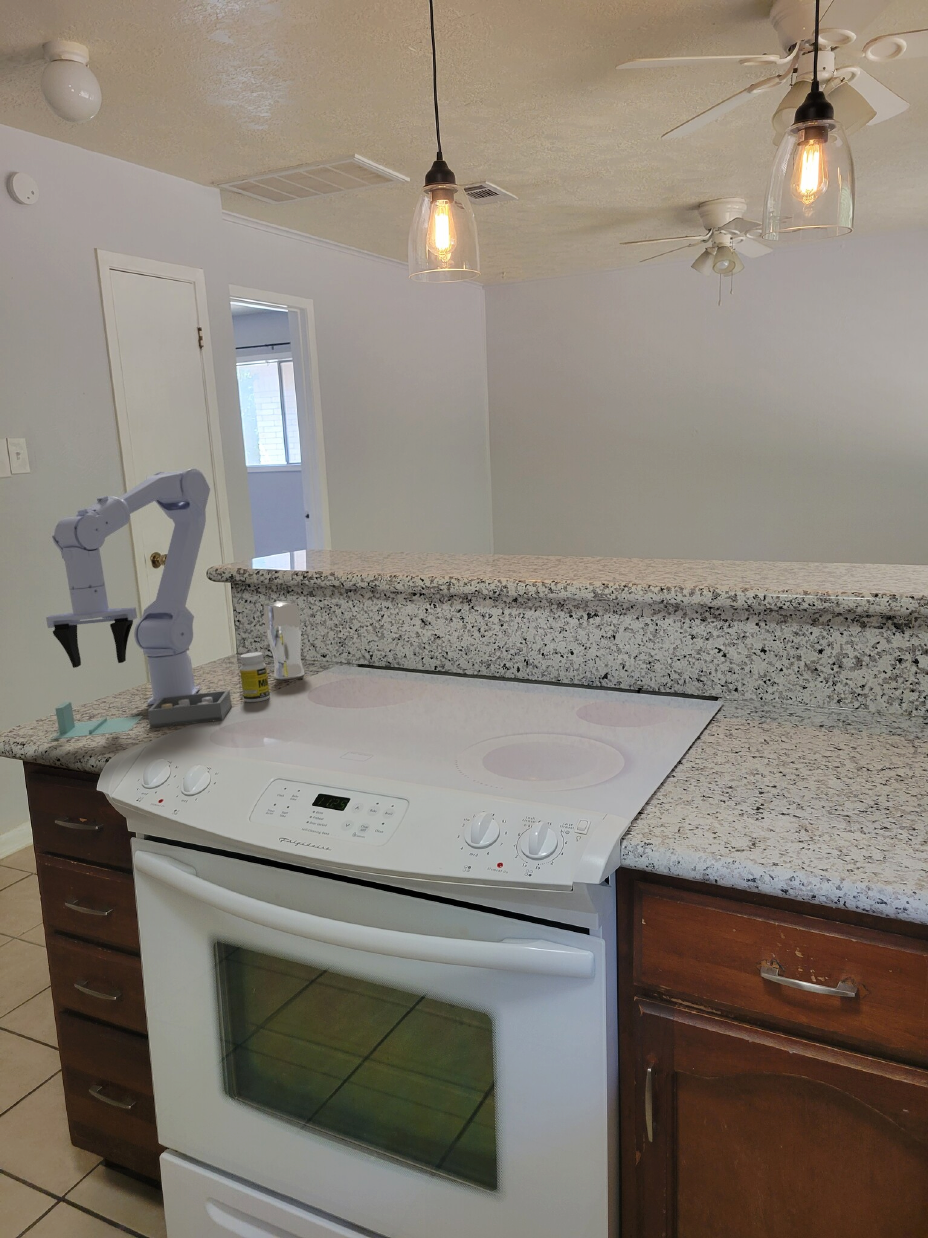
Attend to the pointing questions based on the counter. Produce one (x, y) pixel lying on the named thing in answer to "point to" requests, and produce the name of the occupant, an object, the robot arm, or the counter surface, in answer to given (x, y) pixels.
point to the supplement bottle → (254, 677)
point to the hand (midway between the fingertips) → (99, 664)
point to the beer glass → (284, 638)
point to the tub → (189, 709)
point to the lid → (89, 724)
